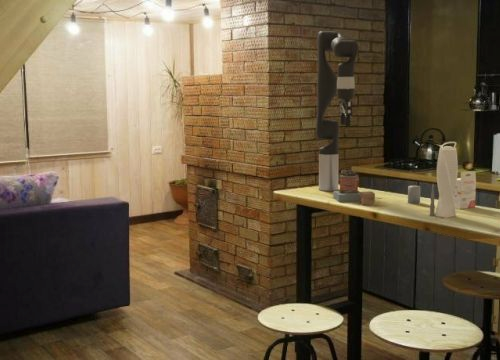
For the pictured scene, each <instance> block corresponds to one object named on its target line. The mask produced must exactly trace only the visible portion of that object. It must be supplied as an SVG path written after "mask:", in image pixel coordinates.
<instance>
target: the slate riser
mask: <svg viewBox="0 0 500 360" xmlns="http://www.w3.org/2000/svg"><path fill="white" fill-rule="evenodd" d="M339 191H340V190H334V191H333V192H332V194H333V199H334V200H336V201H337V202H339V203H347V202H348V203H350V202H360V192H361V191H359V190H358V193H339Z"/></svg>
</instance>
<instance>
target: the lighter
mask: <svg viewBox="0 0 500 360" xmlns="http://www.w3.org/2000/svg"><path fill="white" fill-rule="evenodd" d="M356 171H357V170H351V169H348V170H347V169H346V170H345V169H344V170H341V171H340V172H341V174H343V175H339V190H338V191H339V193H358V191H359V190H358V188H359V175H357V174H356V173H357V172H356Z"/></svg>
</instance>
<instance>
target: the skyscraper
mask: <svg viewBox="0 0 500 360" xmlns="http://www.w3.org/2000/svg"><path fill="white" fill-rule="evenodd" d="M447 144H454V145H453V146H451V145H450V146H448V145H447ZM445 145H446V146H445ZM456 146H457V142H456V141H446V142H444V143H443V144H442V145H441V146H440V147H439V151H438V156H437V162H436V182H437V190H438V201H437V206H435V198H436V195H435V194H434V192H435V187H434V183H433V182H432V187H431V194H430V205H429V211H430V212H429V215H428V216H429V217H433V216H434V218H438V217H439V218H438V219H443V218H445V219H450V218H455V216H456V217H457V213H456V212H457V211H456V208H455V205H454V198H453V193H454V190H455V186H456V181H457V178H458V174H459V173H458V172H459V165H458V164H459V161H458V151H457V147H456ZM449 217H450V218H449Z"/></svg>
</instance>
